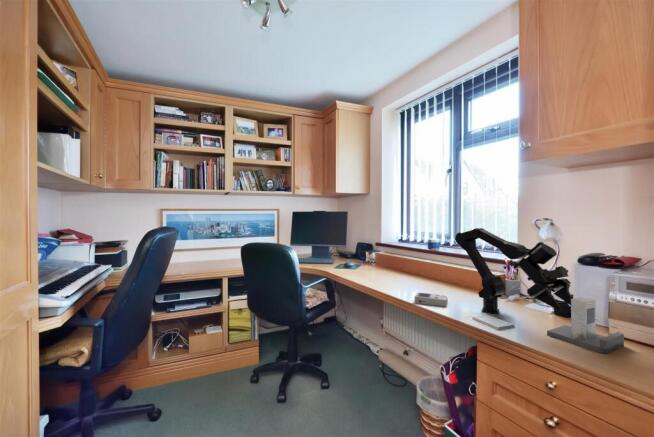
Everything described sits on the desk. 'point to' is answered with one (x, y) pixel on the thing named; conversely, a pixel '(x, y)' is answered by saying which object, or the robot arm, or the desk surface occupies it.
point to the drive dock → (595, 343)
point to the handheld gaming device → (431, 299)
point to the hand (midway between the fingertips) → (567, 308)
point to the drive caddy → (583, 317)
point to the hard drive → (493, 322)
